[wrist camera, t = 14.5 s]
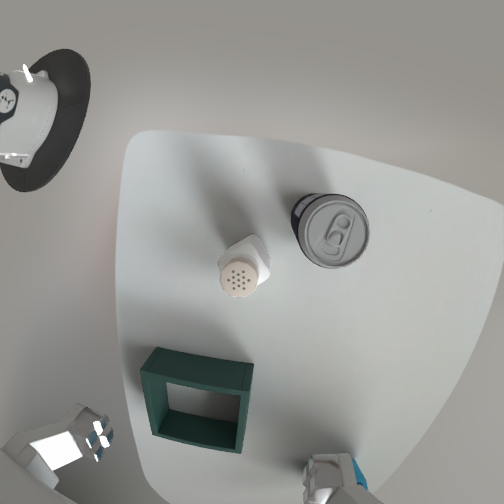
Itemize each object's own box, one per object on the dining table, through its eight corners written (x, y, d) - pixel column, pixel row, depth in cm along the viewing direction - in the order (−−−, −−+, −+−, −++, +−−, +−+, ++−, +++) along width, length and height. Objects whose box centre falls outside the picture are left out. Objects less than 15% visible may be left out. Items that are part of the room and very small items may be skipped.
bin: (164, 411, 39) (152, 434, 33) (156, 346, 36) (139, 369, 30) (245, 427, 38) (241, 454, 32) (253, 363, 35) (249, 391, 29)
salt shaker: (273, 260, 32) (271, 288, 23) (244, 277, 33) (231, 310, 23) (255, 231, 31) (246, 247, 22) (226, 248, 32) (205, 271, 23)
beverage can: (281, 230, 31) (284, 253, 19) (303, 184, 30) (319, 180, 18) (325, 251, 31) (352, 285, 19) (347, 207, 30) (387, 216, 18)
